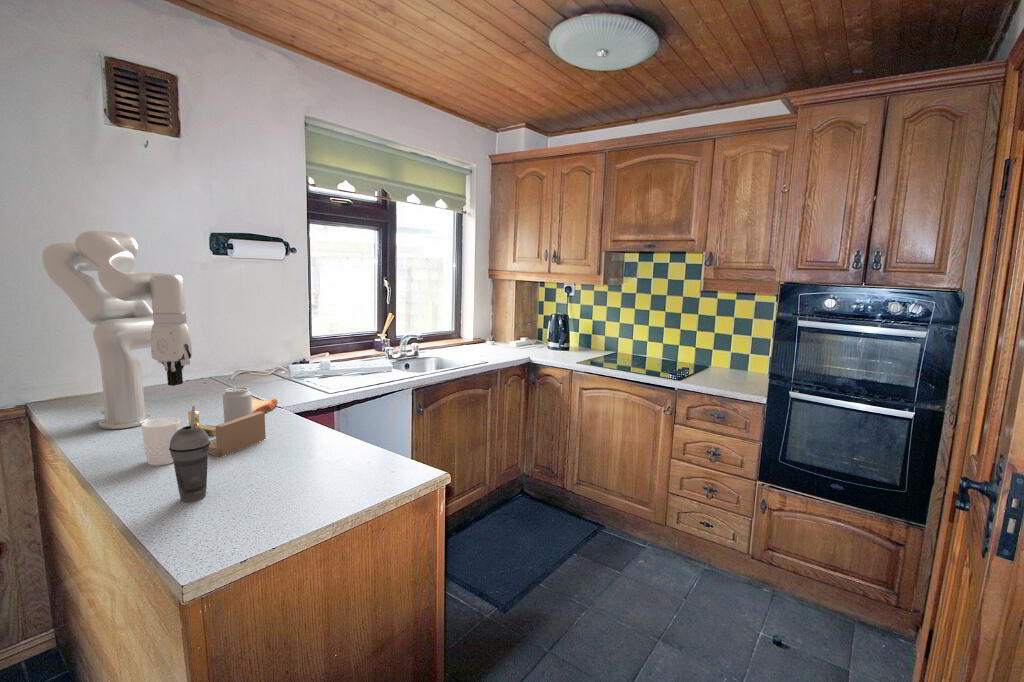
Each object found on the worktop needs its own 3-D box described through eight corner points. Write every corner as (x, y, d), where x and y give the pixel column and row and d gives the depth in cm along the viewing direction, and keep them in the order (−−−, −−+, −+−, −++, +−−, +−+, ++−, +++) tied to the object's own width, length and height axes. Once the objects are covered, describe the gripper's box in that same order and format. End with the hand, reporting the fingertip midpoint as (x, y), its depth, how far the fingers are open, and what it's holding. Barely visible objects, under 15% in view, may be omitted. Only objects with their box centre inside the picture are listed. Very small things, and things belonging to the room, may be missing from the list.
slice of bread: (235, 424, 153) (234, 413, 152) (215, 412, 165) (214, 401, 164) (293, 413, 166) (293, 402, 165) (271, 402, 178) (270, 392, 177)
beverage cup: (185, 489, 108) (179, 401, 105) (219, 489, 109) (214, 401, 106) (164, 505, 101) (157, 411, 98) (202, 505, 102) (196, 411, 99)
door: (149, 442, 135) (147, 414, 134) (196, 427, 148) (194, 401, 147) (223, 456, 127) (221, 426, 126) (265, 439, 140) (264, 412, 139)
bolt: (187, 431, 138) (186, 412, 137) (195, 428, 140) (194, 409, 139) (212, 435, 135) (211, 416, 134) (220, 433, 137) (219, 413, 136)
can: (240, 432, 145) (238, 392, 143) (218, 430, 146) (216, 390, 145) (258, 424, 152) (256, 386, 150) (237, 422, 154) (235, 385, 152)
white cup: (141, 468, 118) (138, 428, 117) (147, 457, 125) (144, 419, 124) (181, 463, 122) (178, 424, 120) (184, 452, 129) (182, 415, 127)
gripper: (136, 319, 135) (142, 385, 137) (177, 321, 130) (182, 389, 133) (163, 317, 142) (168, 379, 144) (203, 319, 137) (207, 384, 140)
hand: (175, 384), depth 138 cm, fingers closed
